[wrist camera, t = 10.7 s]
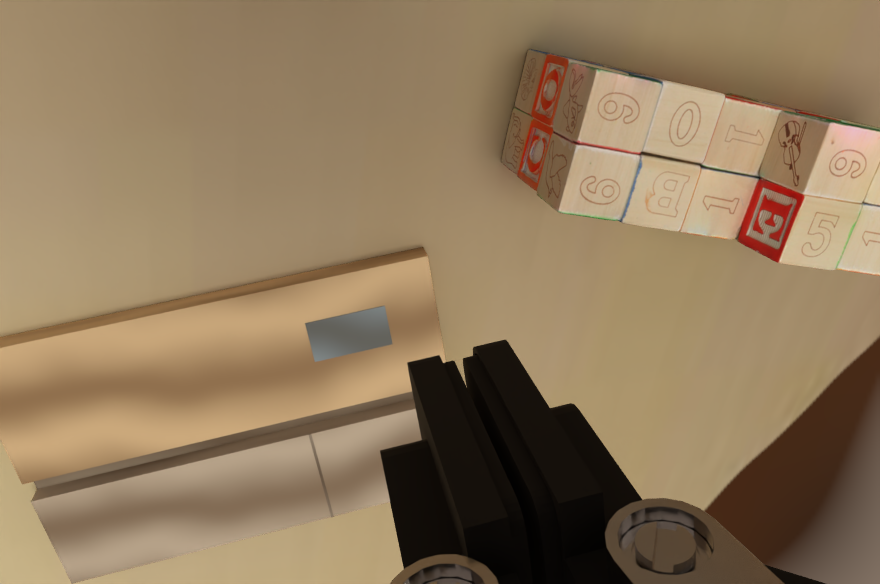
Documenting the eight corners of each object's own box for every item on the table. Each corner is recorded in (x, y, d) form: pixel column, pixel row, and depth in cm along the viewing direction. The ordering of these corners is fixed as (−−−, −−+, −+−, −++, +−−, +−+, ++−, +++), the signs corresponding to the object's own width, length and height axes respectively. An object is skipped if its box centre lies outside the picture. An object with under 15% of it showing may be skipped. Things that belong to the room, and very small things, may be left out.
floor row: (35, 473, 40) (25, 492, 39) (444, 376, 43) (450, 390, 41) (78, 563, 43) (71, 583, 41) (460, 466, 46) (466, 482, 44)
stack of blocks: (496, 164, 39) (581, 234, 28) (525, 46, 36) (630, 69, 25) (816, 222, 44) (994, 299, 33) (857, 123, 42) (1062, 170, 31)
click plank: (-27, 342, 37) (-41, 356, 35) (422, 246, 40) (427, 256, 38) (32, 466, 40) (21, 484, 38) (443, 369, 43) (449, 382, 41)
